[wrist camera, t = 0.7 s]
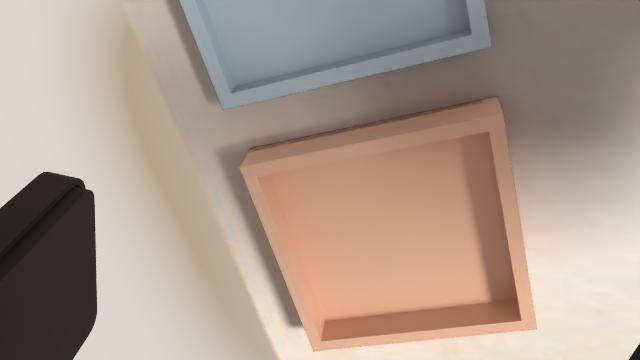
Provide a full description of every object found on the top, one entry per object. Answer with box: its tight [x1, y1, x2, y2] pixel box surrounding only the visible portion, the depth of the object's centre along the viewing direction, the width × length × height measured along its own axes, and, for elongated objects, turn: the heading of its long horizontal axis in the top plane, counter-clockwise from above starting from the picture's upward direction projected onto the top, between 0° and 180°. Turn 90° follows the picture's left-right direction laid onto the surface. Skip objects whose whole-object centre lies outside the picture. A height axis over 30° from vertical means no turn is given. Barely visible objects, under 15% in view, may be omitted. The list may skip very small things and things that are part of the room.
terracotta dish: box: [239, 96, 537, 351], centre depth 42 cm, size 18×18×3 cm
